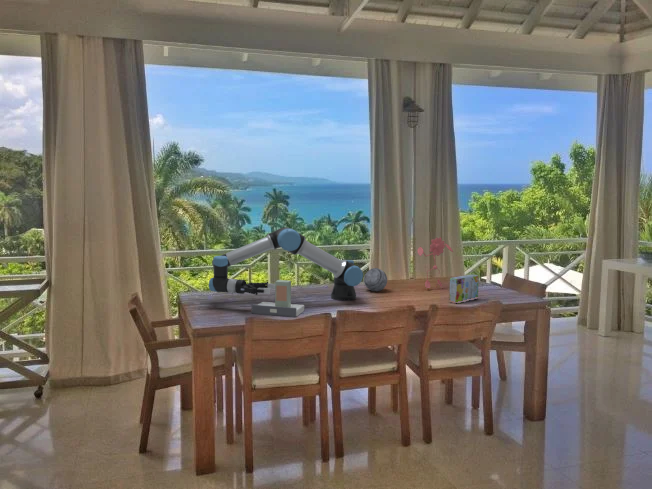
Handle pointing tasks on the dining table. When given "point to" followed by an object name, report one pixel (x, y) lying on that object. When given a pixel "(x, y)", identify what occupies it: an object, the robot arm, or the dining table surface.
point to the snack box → (463, 287)
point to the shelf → (277, 309)
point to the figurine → (437, 249)
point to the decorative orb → (375, 279)
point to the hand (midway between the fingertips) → (274, 289)
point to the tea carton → (283, 293)
